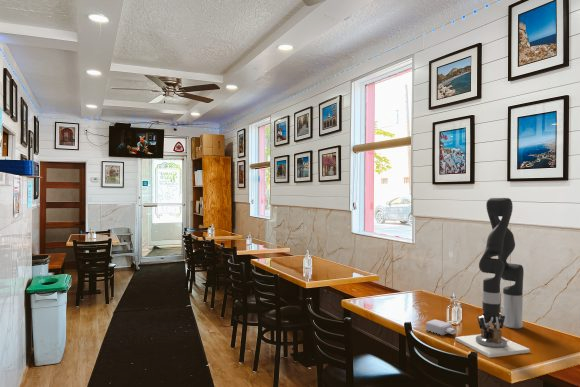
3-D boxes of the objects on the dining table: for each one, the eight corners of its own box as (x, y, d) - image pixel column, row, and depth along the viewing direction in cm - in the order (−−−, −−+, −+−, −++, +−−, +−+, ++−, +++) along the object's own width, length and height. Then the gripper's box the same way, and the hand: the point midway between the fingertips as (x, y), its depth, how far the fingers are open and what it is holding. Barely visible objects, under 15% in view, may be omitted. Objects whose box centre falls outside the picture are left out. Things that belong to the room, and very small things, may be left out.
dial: (469, 339, 197) (469, 324, 197) (492, 336, 200) (492, 322, 200) (490, 349, 184) (490, 333, 184) (513, 346, 188) (513, 331, 188)
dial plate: (455, 340, 200) (455, 336, 200) (492, 336, 206) (492, 332, 206) (489, 357, 179) (489, 353, 179) (529, 352, 185) (529, 348, 185)
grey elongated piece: (452, 339, 201) (425, 331, 214) (462, 335, 207) (436, 327, 219) (452, 329, 201) (425, 321, 214) (462, 326, 207) (436, 318, 219)
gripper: (497, 298, 198) (497, 334, 198) (472, 300, 194) (472, 336, 194) (510, 302, 191) (510, 339, 191) (484, 304, 187) (484, 342, 187)
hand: (491, 337), depth 192 cm, fingers open, 4 cm apart
